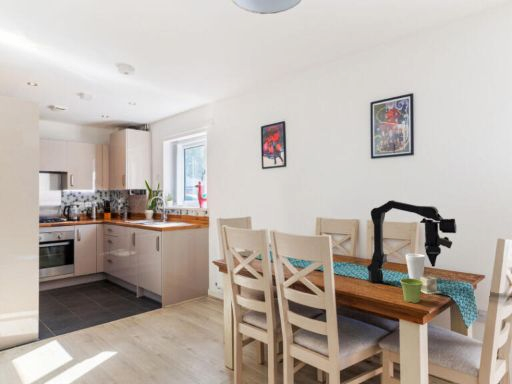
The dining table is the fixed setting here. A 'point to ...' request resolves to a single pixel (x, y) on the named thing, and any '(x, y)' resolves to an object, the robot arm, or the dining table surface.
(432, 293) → the pad
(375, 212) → the robot arm
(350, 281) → the dining table surface
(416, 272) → the foam cup
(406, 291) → the plant pot
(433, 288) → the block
